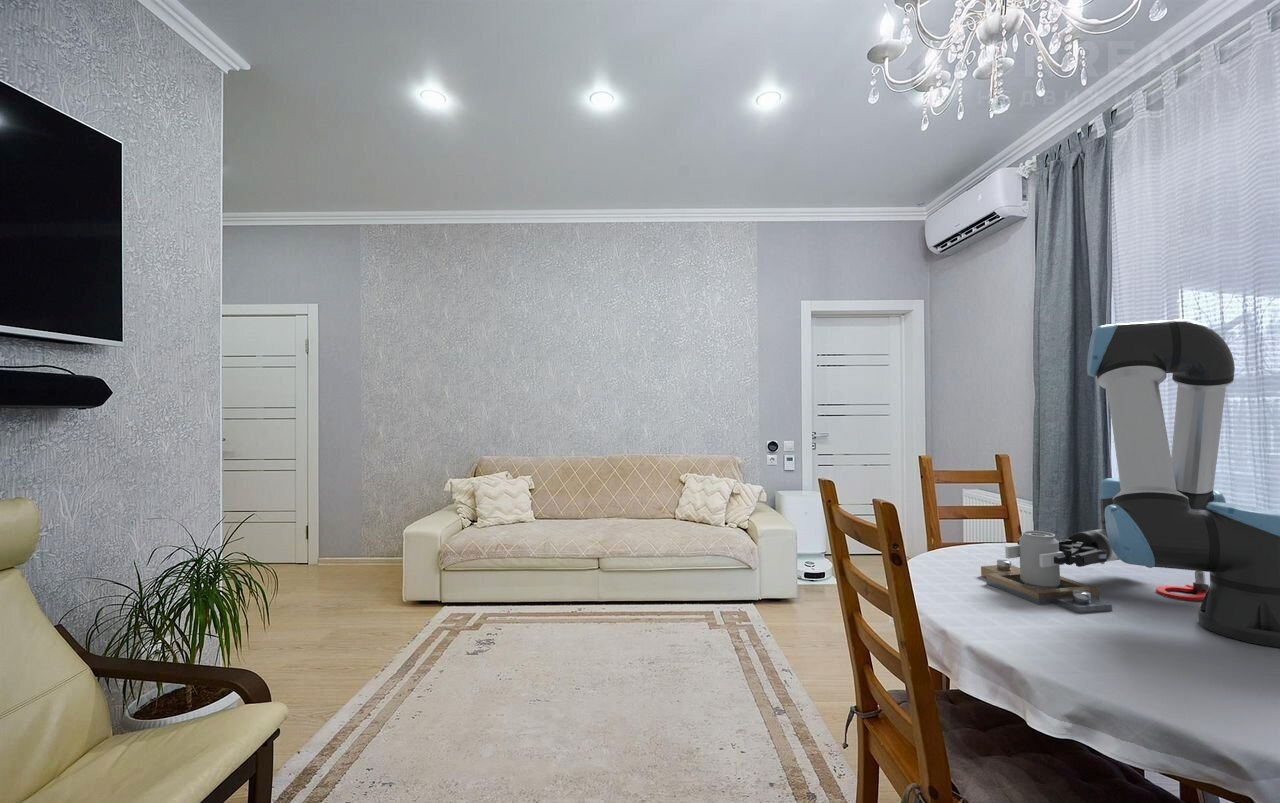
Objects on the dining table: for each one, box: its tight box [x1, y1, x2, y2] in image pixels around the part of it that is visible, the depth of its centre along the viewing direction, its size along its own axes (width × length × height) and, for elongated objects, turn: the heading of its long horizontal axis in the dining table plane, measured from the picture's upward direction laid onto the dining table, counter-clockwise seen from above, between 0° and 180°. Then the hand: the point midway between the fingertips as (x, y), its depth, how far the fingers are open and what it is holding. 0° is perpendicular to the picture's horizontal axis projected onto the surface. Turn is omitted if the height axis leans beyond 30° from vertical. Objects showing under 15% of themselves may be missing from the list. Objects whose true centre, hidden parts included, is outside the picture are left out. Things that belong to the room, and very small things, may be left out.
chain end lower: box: [985, 579, 1113, 614], centre depth 129 cm, size 21×15×3 cm
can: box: [1018, 530, 1061, 590], centre depth 132 cm, size 8×8×12 cm
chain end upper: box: [980, 559, 1100, 599], centre depth 135 cm, size 21×15×4 cm
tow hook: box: [1155, 571, 1210, 602], centre depth 128 cm, size 8×13×9 cm
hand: (1023, 556), depth 130 cm, fingers closed on can, 7 cm apart
